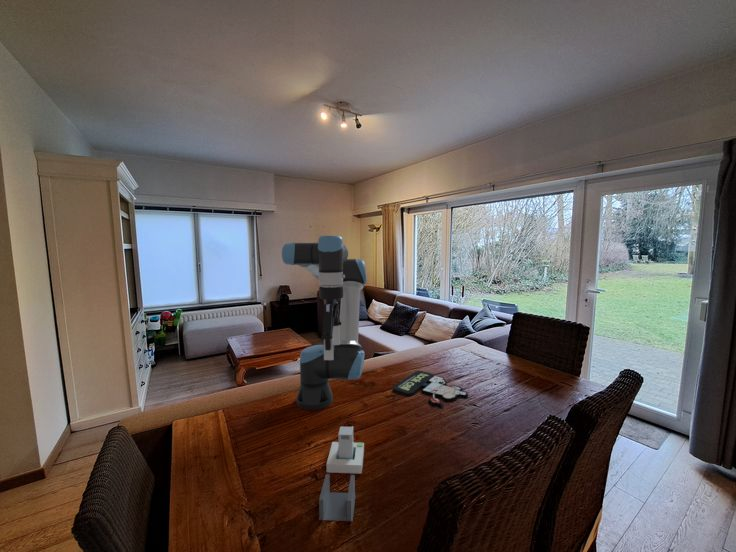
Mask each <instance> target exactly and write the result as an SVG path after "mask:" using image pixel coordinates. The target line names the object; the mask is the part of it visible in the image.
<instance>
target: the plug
mask: <svg viewBox="0 0 736 552" xmlns="http://www.w3.org/2000/svg"><path fill="white" fill-rule="evenodd" d="M337 435H338V441H337V442H338V448H339V455H338V459H351V460H354V458H355V455H354V443H355V441H354V438H355V437H354V426H340V427H339V431H338V433H337Z"/></svg>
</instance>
